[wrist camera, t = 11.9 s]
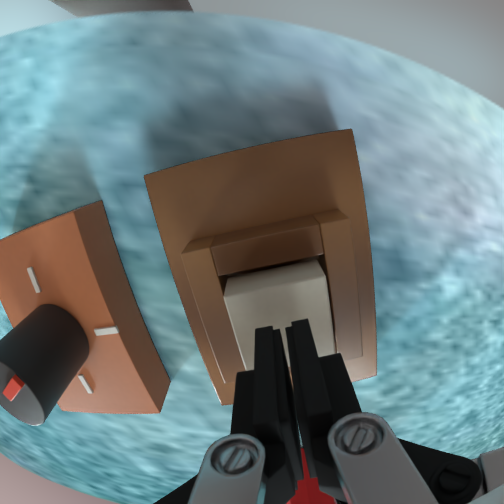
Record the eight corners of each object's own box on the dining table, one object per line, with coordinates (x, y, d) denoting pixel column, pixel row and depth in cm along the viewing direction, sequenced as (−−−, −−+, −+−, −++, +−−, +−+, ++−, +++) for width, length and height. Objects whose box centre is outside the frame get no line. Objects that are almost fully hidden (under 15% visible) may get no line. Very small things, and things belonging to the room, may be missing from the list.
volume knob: (70, 374, 15) (28, 437, 10) (24, 326, 14) (-30, 379, 9) (102, 345, 14) (53, 417, 9) (49, 289, 13) (-17, 345, 8)
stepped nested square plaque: (158, 171, 15) (126, 179, 11) (339, 131, 14) (366, 125, 10) (224, 381, 19) (218, 428, 15) (366, 353, 18) (386, 396, 14)
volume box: (9, 235, 16) (-22, 250, 13) (103, 199, 15) (73, 211, 12) (77, 385, 19) (60, 412, 16) (172, 381, 19) (161, 415, 16)
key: (227, 277, 12) (222, 296, 11) (317, 258, 12) (326, 275, 10) (247, 349, 14) (246, 374, 12) (328, 334, 13) (336, 357, 12)
